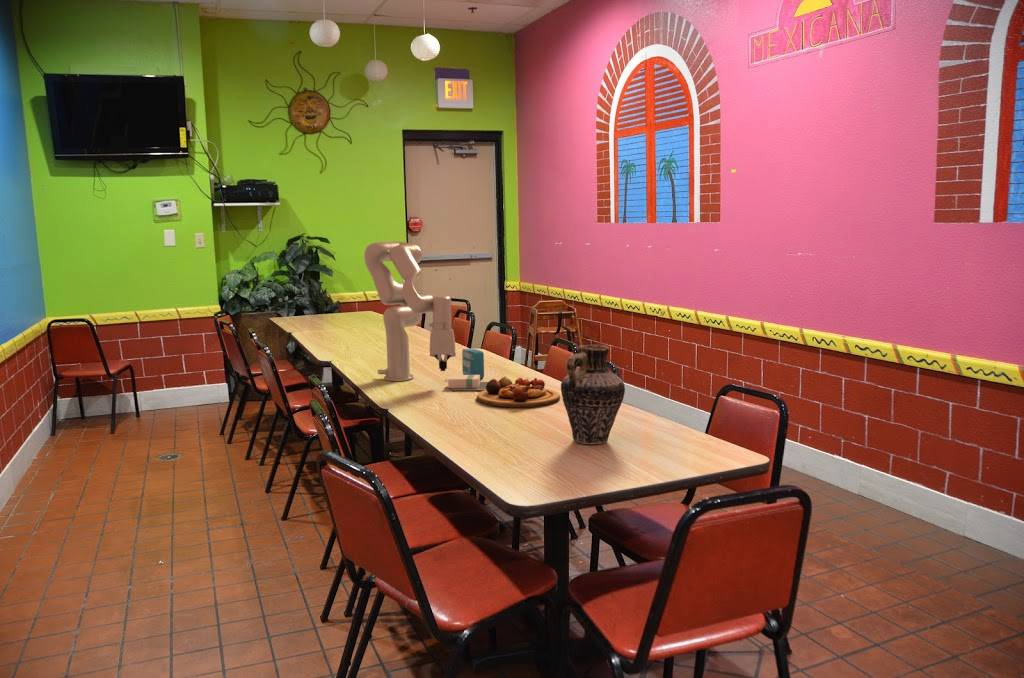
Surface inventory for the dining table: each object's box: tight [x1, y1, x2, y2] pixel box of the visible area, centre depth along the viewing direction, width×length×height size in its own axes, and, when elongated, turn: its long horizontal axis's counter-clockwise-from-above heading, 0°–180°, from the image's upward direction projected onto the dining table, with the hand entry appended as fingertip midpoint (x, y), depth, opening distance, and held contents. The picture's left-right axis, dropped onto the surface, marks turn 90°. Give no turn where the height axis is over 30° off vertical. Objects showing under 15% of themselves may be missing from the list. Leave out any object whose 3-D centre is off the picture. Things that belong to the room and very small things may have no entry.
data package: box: [461, 347, 485, 380], centre depth 352 cm, size 12×4×12 cm, turn 30°
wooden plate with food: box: [476, 375, 561, 408], centre depth 310 cm, size 32×32×8 cm
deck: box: [447, 374, 481, 389], centre depth 332 cm, size 4×9×12 cm
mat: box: [451, 381, 489, 392], centre depth 332 cm, size 19×16×1 cm
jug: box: [560, 344, 626, 446], centre depth 248 cm, size 21×19×30 cm
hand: (443, 370), depth 332 cm, fingers closed
